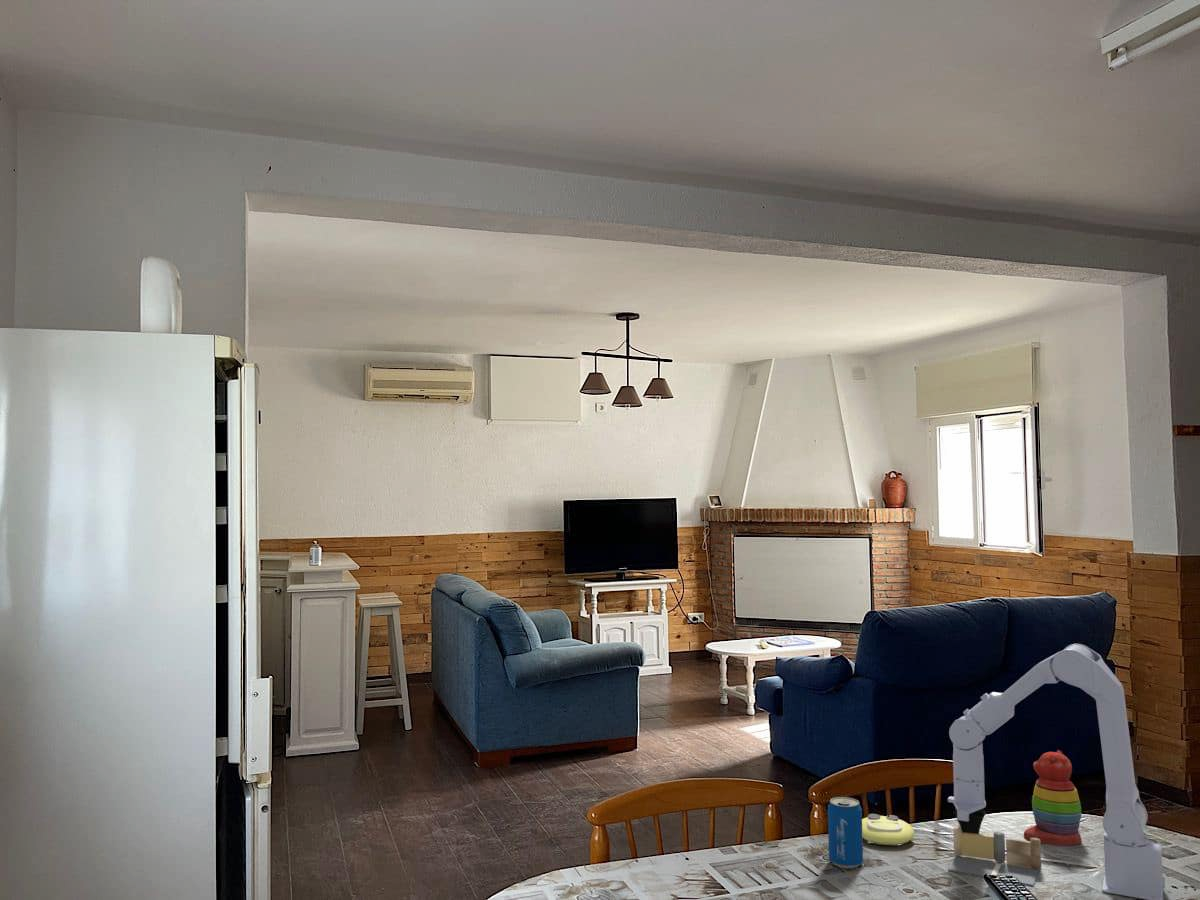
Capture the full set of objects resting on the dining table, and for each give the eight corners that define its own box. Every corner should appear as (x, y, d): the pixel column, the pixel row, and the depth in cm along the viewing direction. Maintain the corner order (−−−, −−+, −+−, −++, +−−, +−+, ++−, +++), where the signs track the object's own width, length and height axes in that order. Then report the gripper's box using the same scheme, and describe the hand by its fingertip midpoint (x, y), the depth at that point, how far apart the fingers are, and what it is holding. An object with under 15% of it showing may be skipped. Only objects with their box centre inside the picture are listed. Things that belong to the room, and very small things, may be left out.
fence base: (1041, 867, 183) (1040, 838, 184) (1040, 870, 182) (1039, 841, 182) (1007, 861, 186) (1006, 833, 187) (1006, 864, 185) (1005, 836, 185)
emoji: (917, 834, 194) (910, 811, 205) (856, 831, 196) (853, 808, 208) (918, 853, 194) (911, 829, 205) (857, 850, 196) (853, 826, 208)
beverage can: (825, 866, 185) (824, 803, 186) (833, 855, 191) (832, 794, 192) (858, 872, 182) (857, 808, 183) (866, 861, 188) (864, 799, 189)
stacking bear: (1041, 826, 208) (1038, 743, 209) (1090, 837, 200) (1087, 751, 201) (1020, 838, 200) (1017, 752, 201) (1070, 850, 193) (1067, 761, 194)
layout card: (1041, 863, 186) (1041, 861, 186) (1033, 886, 175) (1033, 884, 175) (960, 849, 194) (960, 848, 194) (948, 870, 183) (948, 869, 183)
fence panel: (1005, 858, 187) (1004, 832, 187) (1005, 862, 185) (1004, 835, 185) (954, 852, 191) (953, 826, 191) (953, 855, 189) (953, 829, 189)
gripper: (955, 766, 199) (956, 832, 198) (940, 784, 186) (942, 855, 185) (991, 771, 195) (993, 838, 194) (978, 789, 182) (980, 862, 182)
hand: (970, 847), depth 190 cm, fingers closed, pressing on fence panel
